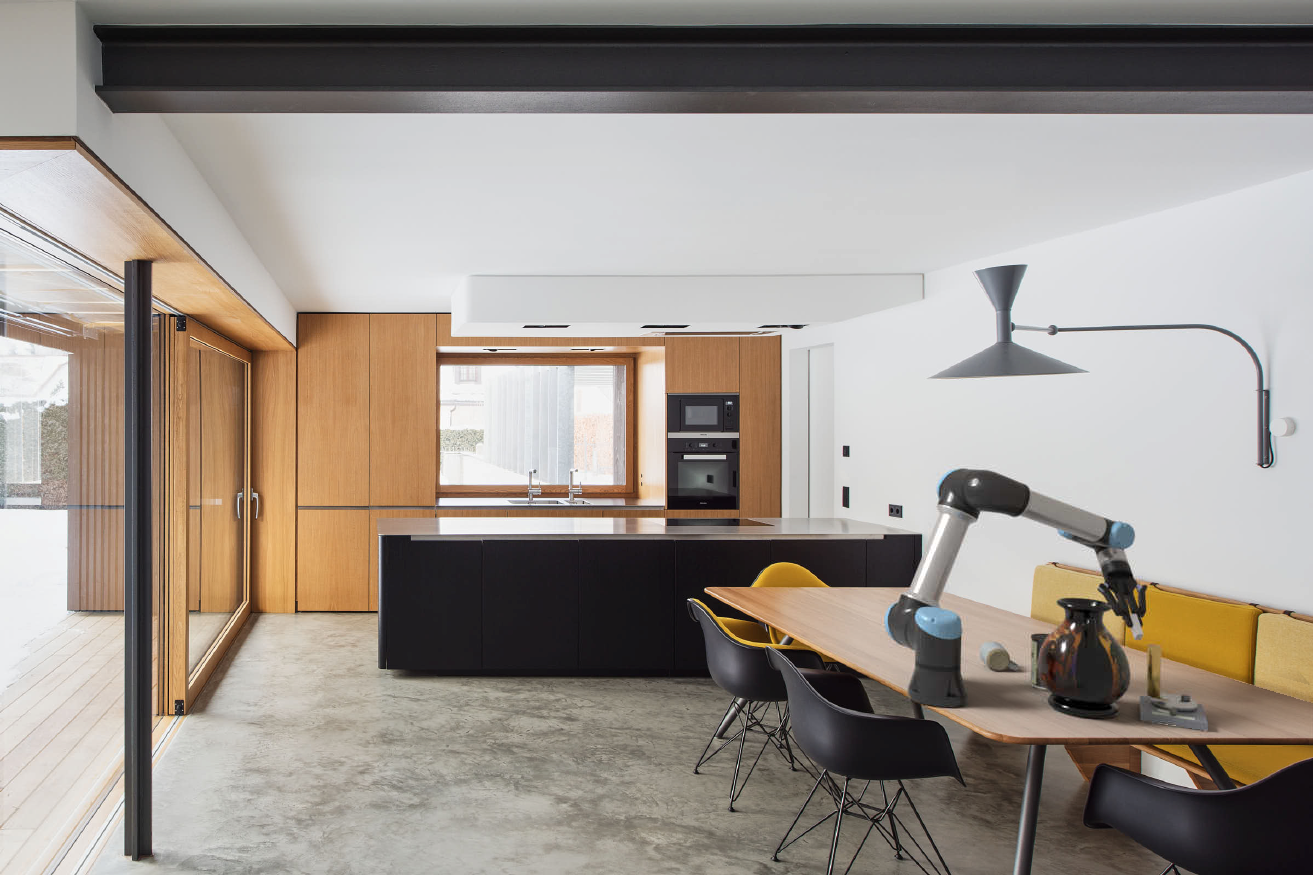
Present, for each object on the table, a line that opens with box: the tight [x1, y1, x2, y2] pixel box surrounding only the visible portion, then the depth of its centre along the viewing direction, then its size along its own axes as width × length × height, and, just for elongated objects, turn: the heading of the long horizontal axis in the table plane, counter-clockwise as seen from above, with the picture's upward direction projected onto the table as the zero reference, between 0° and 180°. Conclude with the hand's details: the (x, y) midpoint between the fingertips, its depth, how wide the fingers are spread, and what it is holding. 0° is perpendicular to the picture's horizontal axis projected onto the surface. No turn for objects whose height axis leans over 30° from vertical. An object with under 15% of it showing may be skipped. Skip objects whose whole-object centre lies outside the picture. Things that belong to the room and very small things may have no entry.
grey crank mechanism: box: [1139, 694, 1209, 732], centre depth 211 cm, size 18×14×4 cm
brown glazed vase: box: [1038, 597, 1132, 719], centre depth 215 cm, size 22×22×28 cm
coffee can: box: [1030, 633, 1051, 692], centre depth 235 cm, size 10×10×14 cm
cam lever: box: [1146, 643, 1198, 712], centre depth 213 cm, size 10×11×15 cm
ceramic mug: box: [979, 640, 1020, 672], centre depth 254 cm, size 11×8×8 cm
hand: (1138, 636), depth 225 cm, fingers closed
